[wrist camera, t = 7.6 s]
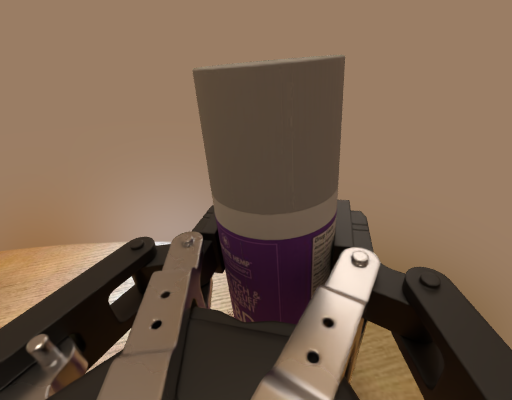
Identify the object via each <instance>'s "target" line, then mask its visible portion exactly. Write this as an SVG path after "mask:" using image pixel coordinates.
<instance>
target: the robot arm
mask: <svg viewBox="0 0 512 400" xmlns="http://www.w3.org/2000/svg"><path fill="white" fill-rule="evenodd" d="M224 270H225V265H224V260H223V255H222V249H221V244H220V239H219V234H218V228H217V223H216V218H215V211H214V205H213V206H211V207H210V208H209V210H208V211H207V213H206V214H205V215H204V216H203V218H202V219H201V220H200V221H199V223H198V224H197V225H196V226H195V228H194V229H193V230H192V232H185V233H182V234H180V235H178V236H177V237H175V238H174V239H173V241H172V243H171V244H167V245H159V246H156V245H155V242H154V240H153V239H152V238H150V237H140V238H136V239H133V240H131V241H130V242H128V243H126V244H125V245H123V246H122V247H120V248H119V249H117V250H116V251H114V252H113V253H112V254H110V255H109V256H107V257H106V258H104V259H103V260H101V261H100V262H98V263H97V264H95V265H94V266H92V267H91V268H89V269H88V270H86V271H85V272H83V273H82V274H80V275H79V276H78V277H76V278H75V279H73V280H72V281H70V282H69V283H67V284H66V285H64V286H63V287H61V288H60V289H58V290H57V291H55V292H54V293H52V294H51V295H49V296H48V297H46V298H45V299H43V300H42V301H41V302H39V303H38V304H36V305H35V306H33V307H32V308H30V309H29V310H27V311H26V312H24V313H23V314H21V315H20V316H18V317H17V318H15V319H14V320H12V321H11V322H9V323H8V324H6V325H5V326H4V327H2V328H1V329H0V400H360V399H359V398H358V396H357V395H356V393H355V392H354V390H353V389H352V387H351V385H350V381H351V378H352V374H353V370H354V367H355V363H356V359H357V355H358V352H359V348H360V345H361V342H362V339H363V335H364V332H365V329H366V325H367V322H368V321H370V322H372V323H374V324H377V325H379V326H381V327H383V328H386V329H388V330H390V331H391V333H392V335H393V337H394V339H395V341H396V343H397V345H398V347H399V349H400V351H401V353H402V355H403V357H404V359H405V361H406V363H407V365H408V367H409V369H410V371H411V373H412V375H413V377H414V379H415V381H416V383H417V385H418V387H419V389H420V391H421V393H422V395H423V397H424V399H425V400H512V350H511V349H510V347H509V346H508V345H507V344H506V343H505V342H504V341H503V339H502V338H501V337H500V336H499V335H498V334H497V333H496V332H495V330H494V329H493V328H492V327H491V326H490V325H489V324H488V322H487V321H486V320H485V319H484V318H483V317H482V316H481V315H480V313H479V312H478V311H477V310H476V309H475V308H474V307H473V305H472V304H471V303H470V302H469V301H468V300H467V299H466V298H465V296H464V295H463V294H462V293H461V292H460V291H459V290H458V288H457V287H456V286H455V285H454V284H453V283H452V282H451V281H450V279H448V278H447V277H446V276H445V275H443V274H442V273H440V272H438V271H436V270H433V269H430V268H425V267H414V268H411V269H409V270H408V271H407V272H406V274H405V273H401V272H398V271H395V270H392V269H390V268H388V267H386V266H384V265H383V264H381V263H380V260H379V258H378V257H377V255H375V254H374V253H373V247H372V242H371V237H370V233H369V227H368V222H367V218H366V216H365V215H364V214H363V213H362V212H361V211H351V210H350V202H349V200H337V214H336V226H335V234H334V243H333V255H332V267H331V274H330V276H329V277H328V279H327V281H326V283H325V285H322V284H320V285H319V286H318V287H317V289H316V290H315V292H314V294H313V296H312V298H311V300H310V301H309V303H308V305H307V307H306V309H305V310H304V312H303V314H302V316H301V318H300V320H299V321H298V323H297V325H296V324H291V323H285V322H279V321H258V322H242V321H240V320H238V319H236V318H233V317H231V316H229V315H227V314H225V313H223V312H221V311H218V310H212V309H210V307H211V297H212V287H213V280H212V276H213V274H214V272H215V273H222V274H223V272H224ZM131 276H132V278H133V280H134V282H135V285H134V286H133V287H131V288H130V289H129V290H128V291H127V292H125V293H124V294H123V295H122V296H121V297H119V298H118V299H117V300H116V301H115V302H113V303H112V304H111V305H110V304H109V302H108V299H109V296H110V294H111V293H112V291H113V290H115V289H116V288H117V287H118V286H120V285H121V284H122V283H123V282H125V281H126V280H127V279H128V278H130V277H131ZM130 328H131V331H130V333H129V336H128V339H127V341H126V344H125V347H124V349H123V350H121V351H120V352H118V353H117V354H115V355H114V356H112V357H111V358H109V359H107V360H106V361H104V362H103V363H101V364H100V365H98V366H97V367H95V368H94V369H92V370H90V371H89V372H87V373H86V371H87V370H88V369H89V368H90V367H91V366H92V365H93V364H95V363H96V362H97V361H98V360H99V359H100V358H101V357H102V356H103V355H104V354H105V353H106V352H107V351H108V350H109V349H110V348H111V347H112V346H113V345H114V344H115V343H116V342H117V341H118V340H119V339H120V338H121V337H122V336H123V335H124V334H125V333H126V332H127V331H128V330H129V329H130ZM85 373H86V374H85Z"/></svg>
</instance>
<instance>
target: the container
mask: <svg viewBox="0 0 512 400" xmlns="http://www.w3.org/2000/svg"><path fill="white" fill-rule="evenodd" d="M344 64H345V56H344V55H330V56H316V57H303V58H291V59H280V60H268V61H257V62H247V63H237V64H227V65H217V66H209V67H200V68H194V69H193V76H194V83H195V89H196V96H197V102H198V108H199V114H200V121H201V128H202V134H203V140H204V146H205V153H206V159H207V165H208V172H209V179H210V185H211V191H212V198H213V204H214V211H215V218H216V223H217V228H218V234H219V239H220V244H221V249H222V255H223V260H224V265H225V271H226V276H227V281H228V286H229V292H230V297H231V302H232V308H233V313H234V318H236V319H238V320H240V321H242V322H258V321H279V322H285V323H291V324H296V325H297V323H298V321H299V320H300V318H301V316H302V314H303V312H304V310H305V309H306V307H307V305H308V303H309V301H310V300H311V298H312V296H313V294H314V292H315V290H316V289H317V287H318V286H319V285H320V284H322V285H325V283H326V281H327V279H328V277H329V276H330V274H331V267H332V255H333V243H334V234H335V226H336V214H337V195H338V175H339V158H340V157H339V156H340V139H341V121H342V103H343V102H342V101H343V85H344V84H343V83H344V66H345V65H344Z"/></svg>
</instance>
